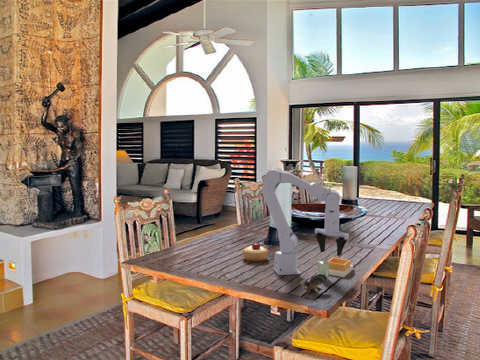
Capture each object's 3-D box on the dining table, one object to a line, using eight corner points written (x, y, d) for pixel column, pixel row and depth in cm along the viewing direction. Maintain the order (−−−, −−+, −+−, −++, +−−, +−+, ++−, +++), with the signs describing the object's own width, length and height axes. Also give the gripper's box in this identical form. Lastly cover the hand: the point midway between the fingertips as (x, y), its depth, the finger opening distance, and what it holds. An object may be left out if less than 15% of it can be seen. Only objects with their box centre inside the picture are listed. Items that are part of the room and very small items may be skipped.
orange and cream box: (343, 277, 164) (344, 266, 163) (322, 273, 168) (323, 262, 168) (353, 269, 174) (353, 259, 173) (332, 265, 178) (333, 255, 178)
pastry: (266, 265, 181) (266, 245, 180) (240, 262, 184) (240, 243, 182) (269, 256, 193) (270, 238, 192) (245, 254, 195) (245, 236, 194)
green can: (319, 281, 159) (320, 264, 158) (315, 277, 163) (316, 260, 162) (330, 280, 160) (330, 263, 159) (326, 277, 164) (326, 260, 163)
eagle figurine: (321, 295, 142) (331, 283, 149) (310, 277, 143) (320, 266, 150) (305, 301, 147) (316, 289, 154) (295, 284, 147) (305, 273, 154)
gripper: (353, 221, 161) (351, 255, 162) (321, 216, 170) (320, 248, 172) (344, 224, 155) (343, 258, 157) (312, 219, 165) (311, 251, 167)
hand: (330, 253), depth 164 cm, fingers open, 7 cm apart
